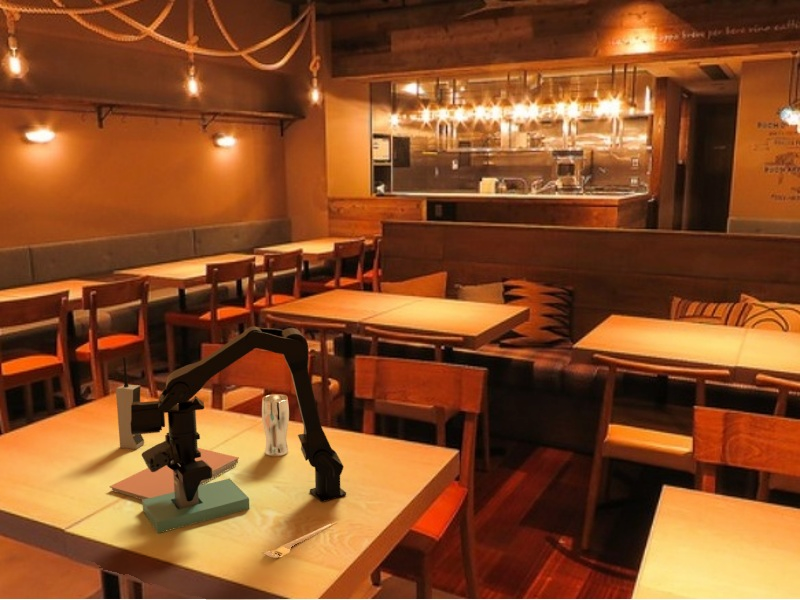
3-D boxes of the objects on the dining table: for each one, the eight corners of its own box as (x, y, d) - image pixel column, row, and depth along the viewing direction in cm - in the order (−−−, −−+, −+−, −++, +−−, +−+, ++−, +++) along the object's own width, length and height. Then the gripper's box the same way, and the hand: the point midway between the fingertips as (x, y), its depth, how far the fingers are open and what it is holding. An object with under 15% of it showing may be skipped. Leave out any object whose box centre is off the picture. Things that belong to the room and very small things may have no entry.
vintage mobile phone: (136, 449, 192) (130, 359, 187) (120, 448, 193) (113, 357, 188) (144, 444, 196) (138, 355, 191) (127, 442, 197) (121, 354, 192)
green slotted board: (249, 508, 159) (249, 498, 159) (157, 533, 149) (157, 522, 148) (230, 488, 169) (229, 478, 169) (142, 510, 158) (142, 499, 158)
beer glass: (287, 457, 187) (285, 402, 184) (260, 457, 187) (258, 402, 184) (291, 447, 194) (290, 393, 191) (266, 446, 194) (264, 393, 191)
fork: (342, 527, 153) (342, 519, 152) (269, 565, 138) (269, 556, 137) (331, 523, 155) (331, 514, 155) (258, 559, 140) (258, 550, 139)
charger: (199, 506, 157) (197, 472, 156) (179, 511, 155) (177, 477, 153) (193, 499, 160) (191, 466, 159) (174, 504, 158) (172, 470, 157)
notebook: (163, 509, 160) (162, 500, 160) (109, 493, 168) (109, 485, 167) (242, 464, 184) (242, 457, 184) (192, 452, 192) (192, 445, 191)
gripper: (133, 423, 158) (137, 490, 161) (156, 451, 142) (161, 524, 145) (183, 414, 164) (187, 478, 167) (211, 440, 148) (214, 510, 151)
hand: (186, 497), depth 157 cm, fingers closed on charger, 4 cm apart
